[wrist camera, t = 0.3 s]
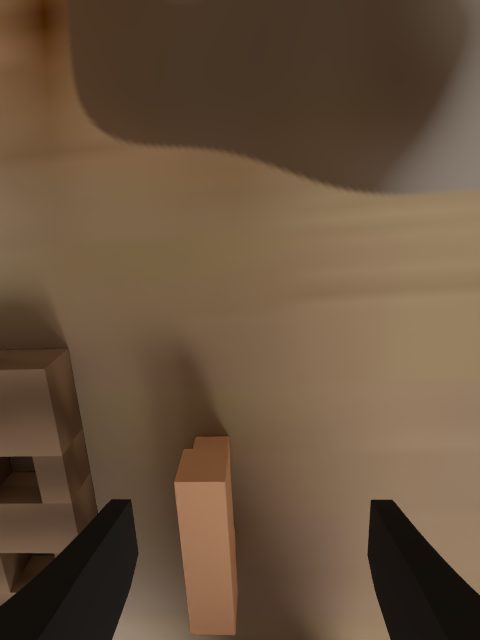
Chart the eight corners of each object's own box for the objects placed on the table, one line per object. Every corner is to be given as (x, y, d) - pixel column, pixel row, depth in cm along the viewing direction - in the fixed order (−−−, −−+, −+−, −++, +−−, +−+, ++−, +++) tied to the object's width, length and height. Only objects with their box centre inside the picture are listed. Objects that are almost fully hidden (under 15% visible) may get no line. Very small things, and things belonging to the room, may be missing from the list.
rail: (115, 612, 28) (101, 653, 25) (23, 611, 28) (1, 651, 26) (68, 348, 22) (44, 368, 20) (-46, 351, 22) (-83, 371, 20)
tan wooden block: (240, 557, 26) (235, 635, 21) (202, 557, 26) (190, 634, 22) (232, 423, 23) (224, 481, 19) (190, 424, 23) (174, 482, 19)
